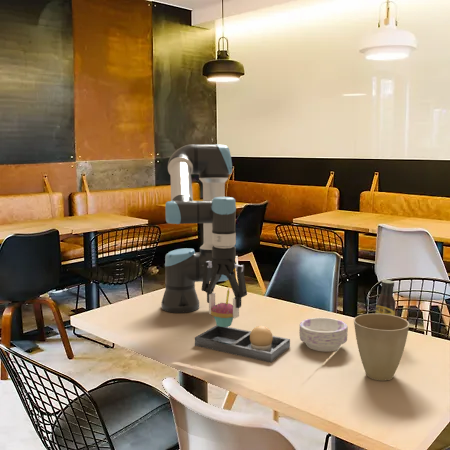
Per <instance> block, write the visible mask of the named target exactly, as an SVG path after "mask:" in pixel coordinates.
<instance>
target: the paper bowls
mask: <svg viewBox="0 0 450 450" xmlns="http://www.w3.org/2000/svg"><path fill="white" fill-rule="evenodd" d="M348 328H349V327H348V324H347V323H345V322H344V321H343V320H340V319H336V318H331V317H311V318H307V319H303V320H301V322H299V339H300V341H301V342H302V343H305V345H306V347H307V348H309V349H310V350H313V351H317V352H336V351H338V350H339V349H340V347H341V346H342V345H344V344H346V343H347V341H348Z"/></svg>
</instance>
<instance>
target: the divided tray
mask: <svg viewBox="0 0 450 450" xmlns="http://www.w3.org/2000/svg"><path fill="white" fill-rule="evenodd" d="M251 331H252V330H251ZM251 331H250V330H245V329H241V328H235V327H231V326H228V327H220V326H217V324H216V325H214V326H212V327H211V328H209V329H207V330H206V331H204V332H202V333H200V334H199V335H197V336H195V337H194V347H198V348H204V349H208V350H212V351H217V352H221V353H225V354H230V355H235V356H239V357H245V358H249V359H253V360H257V361H261V362H266V363H271V364H272V362H274V361H275V360H276V359H278V358H279V357H281V355H282V354H284V353H285V352H286V351H287V350H289V349H290V348H291V339H290V338H286V337H281V336H276V335H273V340H272V343H271V351H270V352H267V351H262V350H257V349H253V348H251V342H250V333H251Z"/></svg>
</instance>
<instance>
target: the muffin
mask: <svg viewBox="0 0 450 450" xmlns="http://www.w3.org/2000/svg"><path fill="white" fill-rule="evenodd" d="M273 336H274V335H273V332H272V331H271V329H269V328H268V327H267V326H264V325H258V326H256V327H253V329H251V333H250V342H251V348H253V349H257V350H262V351H267V352H270V351H271V343H272V340H273Z"/></svg>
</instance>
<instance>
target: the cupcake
mask: <svg viewBox="0 0 450 450" xmlns="http://www.w3.org/2000/svg"><path fill="white" fill-rule="evenodd" d="M229 296H230V288H228V290H227V292H226V300H225V302H220V303H218V304H215V306H213V307H212V309H211V314H210V315H211V316H212V317H213V318H214V320H215V324H216V325H217V326H220V327H231V326H232V323H233V320H234V318H233V303H229Z"/></svg>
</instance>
